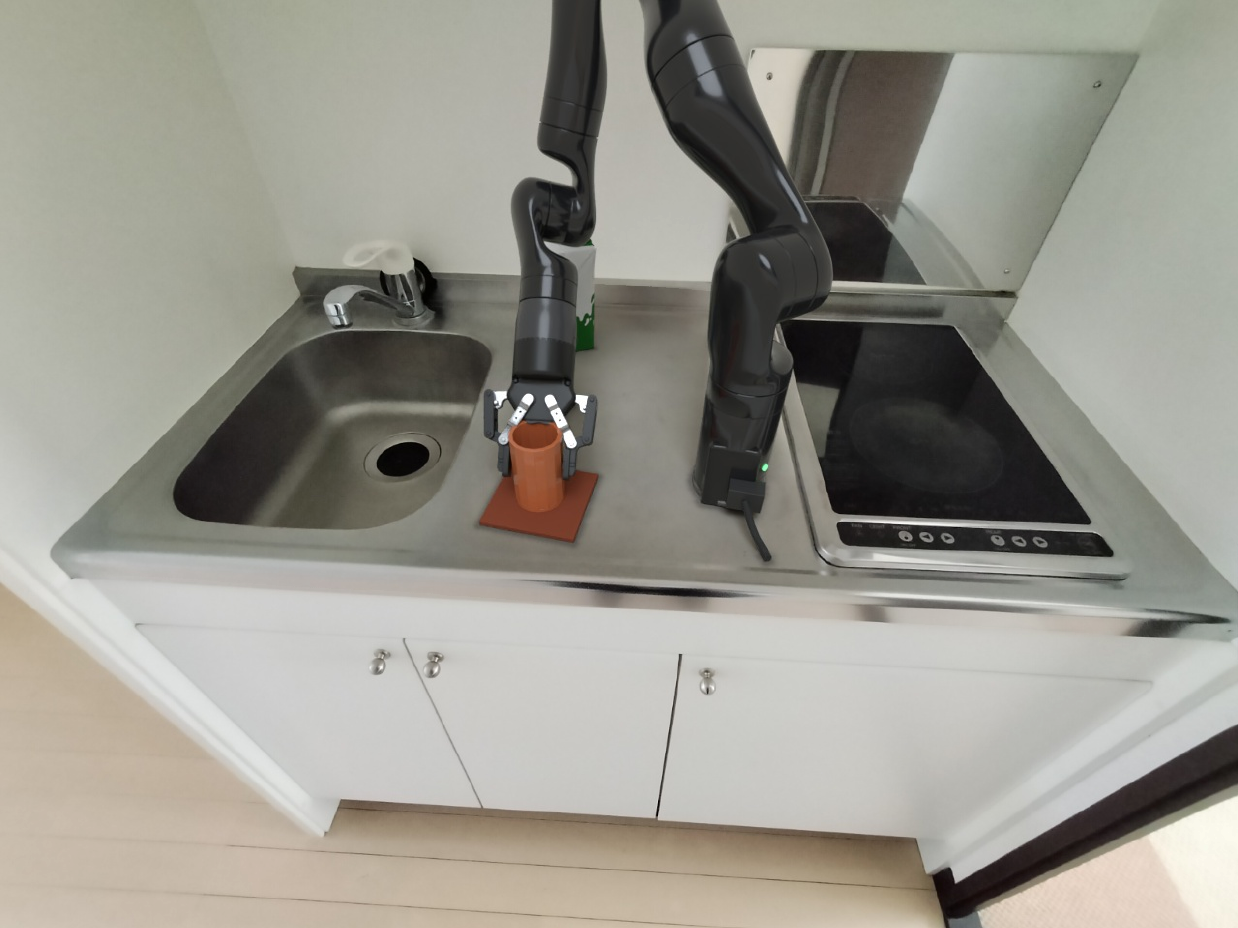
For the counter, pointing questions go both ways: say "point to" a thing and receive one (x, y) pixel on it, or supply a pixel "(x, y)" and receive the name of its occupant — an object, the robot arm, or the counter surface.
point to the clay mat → (546, 524)
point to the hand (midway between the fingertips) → (536, 478)
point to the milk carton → (582, 289)
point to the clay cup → (537, 466)
